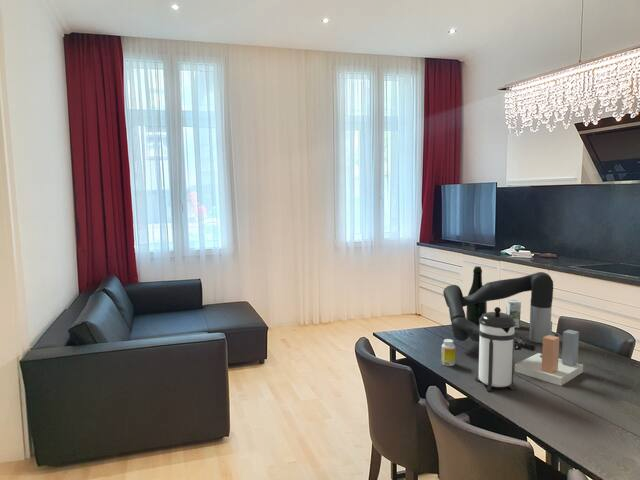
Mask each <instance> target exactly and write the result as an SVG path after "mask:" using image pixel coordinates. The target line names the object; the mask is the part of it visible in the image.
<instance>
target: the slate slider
mask: <svg viewBox="0 0 640 480" xmlns="http://www.w3.org/2000/svg"><path fill="white" fill-rule="evenodd" d="M579 336H580V332H579V331H577V330H573V329H567V330H565V331H562V351H561V359H562V364H566V365H570V366H573V365H575V364H577V363H578V364H579V362H578V358H579V341H580V339H579V338H580V337H579Z"/></svg>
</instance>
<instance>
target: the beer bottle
mask: <svg viewBox="0 0 640 480" xmlns="http://www.w3.org/2000/svg"><path fill="white" fill-rule="evenodd" d="M472 272H473V275H472V284H471V287H470V289H469V291H468V294H467V296H469V295H472V294H474V293H475V292H476V291H478V290H479V289H480V288H481V287H482V286H483V277H482V275H483V274H482V273H483V269H482V267H481V266H478V265H477V266H476V265H475V266H474V268H473V271H472ZM487 305H488V301H486V302H480V303H475V304H472V305H468V306H466V311H465V316H466V319H467V320H469V321H471V322H473V323H475V324H476V325H478V326H480V323H479V319H480V318H481V316H482V315H483V314H485V313H488V311H487V310H488V307H487Z"/></svg>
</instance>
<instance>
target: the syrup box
mask: <svg viewBox="0 0 640 480" xmlns="http://www.w3.org/2000/svg"><path fill="white" fill-rule="evenodd" d="M505 308H506V313H505V314H508V315H510V316H512V317H513V318H514V321H515V322H516V326H515V329H521V328H520V327H521V314H522V313H521V308H522V302H521V301H520V300H519V299H506V307H505Z"/></svg>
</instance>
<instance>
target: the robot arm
mask: <svg viewBox="0 0 640 480" xmlns="http://www.w3.org/2000/svg"><path fill="white" fill-rule="evenodd" d="M482 285H483V284H482ZM524 292H531V294H530V306H529V307H530V309H529V310H530V312H529V333H528V334H529V337H528V339H529V341H531V342H534V343H537V344H543V337H545V336H548V335H551V336H552V335H553V321H552V309H553V308H552V305H553V299H554V280H553V279H552V277H551V276H550V274H548V273H546V272H545V271H544V272H543V271H540V272H539V271H538V272H535V273H532V274H528V275H524V276H521V277H514V278H507V279H499V280H494V281H489V282H486V283H484V285H483V286H482V287H481V288H480V289H479V290H478V291H476V292H475V293H474V294H472V295H469V296H468V295H466V296H464V295H463V291H462V289H461V288H460V286H459V285H456V284H451V285H448V286H446V287H445V288H444V289H443V292H442V293H443V298H444V301H445V303H446V306H447V307H448V311H449V318H450V321H451V322H450V323H451V324H450V325H451V329H452V334H453V337H454V339H455V340H457V341H459V342H465V341H467V340H468V338H469V337H470V339H471V340H472V341H473V342H477V343H479V328H480V326H478V325H476V324H475V323H473V322H471V321H469V320H467V319H466V311H465V310H464V307H467V306H468V305H472V304H475V303H480V302H486V301H487V302H491V301H498V300H503V299H508V298H510V297H513V296H516V295H518V294H521V293H524ZM521 350H527V351H529V352H530V351H531V352H535V351H536V350H537V345H536V344H531V343H529V342H528V340H527V339H525V338H524V337H523V336H518V338H517V337H515V345H514V351H521Z"/></svg>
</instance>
